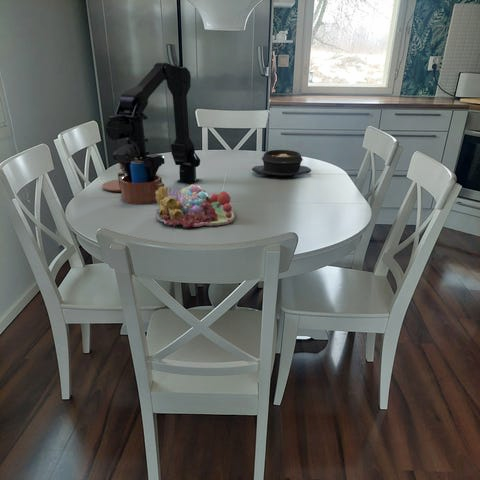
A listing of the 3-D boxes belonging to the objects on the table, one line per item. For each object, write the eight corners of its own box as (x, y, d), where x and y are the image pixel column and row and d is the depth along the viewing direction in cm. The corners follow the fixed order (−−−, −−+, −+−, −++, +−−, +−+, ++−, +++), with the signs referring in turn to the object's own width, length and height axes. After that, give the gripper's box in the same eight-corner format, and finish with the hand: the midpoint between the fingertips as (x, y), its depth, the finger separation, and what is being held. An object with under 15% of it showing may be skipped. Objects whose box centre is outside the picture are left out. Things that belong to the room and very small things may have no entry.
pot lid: (132, 180, 181) (130, 166, 178) (150, 188, 170) (148, 174, 167) (96, 186, 173) (94, 171, 170) (112, 195, 163) (110, 180, 160)
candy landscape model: (165, 233, 130) (163, 202, 125) (146, 210, 149) (143, 181, 144) (245, 222, 139) (245, 192, 134) (217, 201, 157) (216, 174, 152)
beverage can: (148, 199, 157) (144, 164, 150) (130, 198, 158) (126, 163, 151) (155, 194, 162) (151, 159, 156) (138, 193, 163) (134, 159, 157)
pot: (136, 189, 169) (134, 170, 166) (176, 197, 160) (175, 177, 157) (108, 198, 159) (105, 178, 156) (149, 208, 150) (147, 187, 147)
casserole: (252, 179, 182) (253, 158, 177) (250, 168, 198) (251, 148, 193) (314, 179, 183) (316, 158, 178) (307, 168, 198) (309, 148, 194)
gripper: (97, 136, 148) (104, 184, 156) (139, 142, 139) (144, 193, 147) (122, 131, 156) (128, 177, 164) (163, 137, 147) (167, 185, 155)
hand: (141, 183), depth 157 cm, fingers open, 8 cm apart
